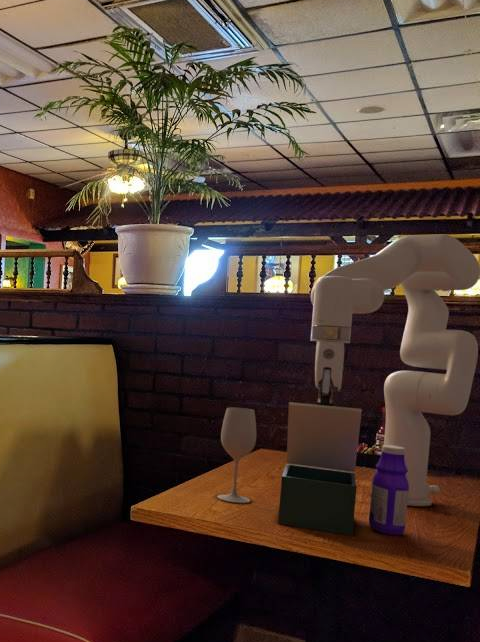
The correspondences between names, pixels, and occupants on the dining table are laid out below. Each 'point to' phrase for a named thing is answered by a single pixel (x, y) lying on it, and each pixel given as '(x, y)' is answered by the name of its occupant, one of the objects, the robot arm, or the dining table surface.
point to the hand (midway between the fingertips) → (323, 421)
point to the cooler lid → (323, 436)
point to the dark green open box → (318, 499)
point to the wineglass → (238, 442)
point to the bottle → (389, 492)
